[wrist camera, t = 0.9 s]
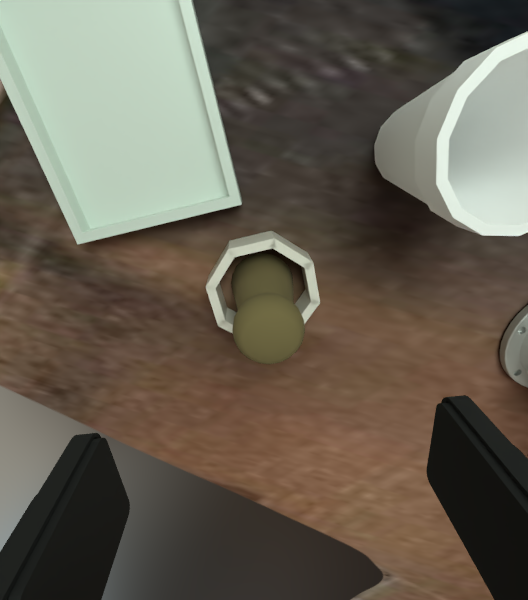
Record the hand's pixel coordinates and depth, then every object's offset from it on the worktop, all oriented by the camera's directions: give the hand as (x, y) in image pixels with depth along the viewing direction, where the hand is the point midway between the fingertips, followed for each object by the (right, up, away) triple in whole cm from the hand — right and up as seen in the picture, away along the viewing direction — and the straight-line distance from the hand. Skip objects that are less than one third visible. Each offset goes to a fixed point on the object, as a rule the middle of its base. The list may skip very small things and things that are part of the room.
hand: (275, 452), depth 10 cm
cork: (-1, +6, +23) cm, 24 cm away
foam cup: (+12, +17, +19) cm, 29 cm away
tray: (-11, +20, +17) cm, 28 cm away
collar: (-1, +6, +23) cm, 24 cm away
